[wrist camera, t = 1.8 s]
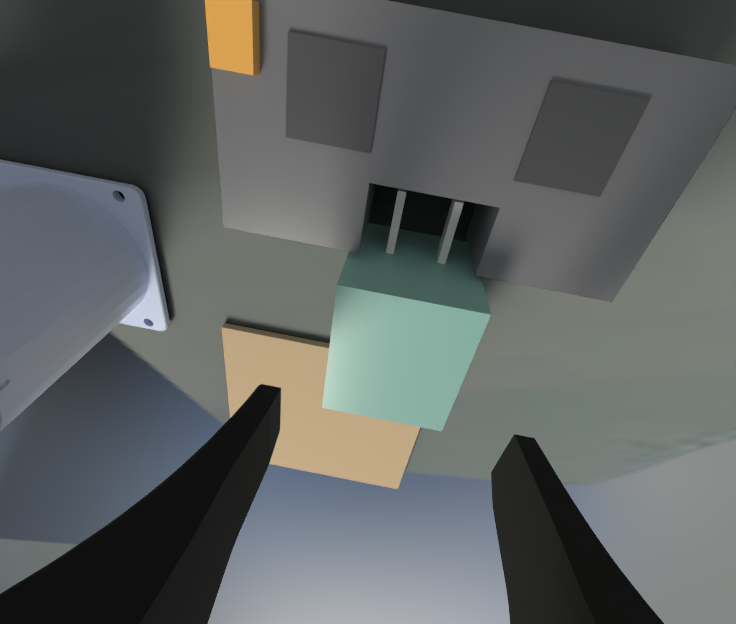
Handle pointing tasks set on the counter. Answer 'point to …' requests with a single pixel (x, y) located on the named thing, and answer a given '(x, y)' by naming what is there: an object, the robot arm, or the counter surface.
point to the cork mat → (313, 410)
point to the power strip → (458, 131)
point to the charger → (405, 324)
